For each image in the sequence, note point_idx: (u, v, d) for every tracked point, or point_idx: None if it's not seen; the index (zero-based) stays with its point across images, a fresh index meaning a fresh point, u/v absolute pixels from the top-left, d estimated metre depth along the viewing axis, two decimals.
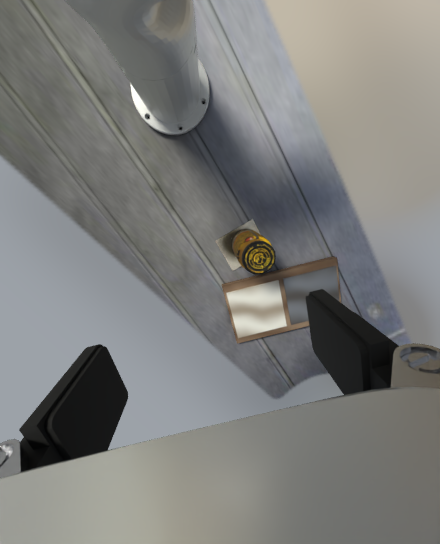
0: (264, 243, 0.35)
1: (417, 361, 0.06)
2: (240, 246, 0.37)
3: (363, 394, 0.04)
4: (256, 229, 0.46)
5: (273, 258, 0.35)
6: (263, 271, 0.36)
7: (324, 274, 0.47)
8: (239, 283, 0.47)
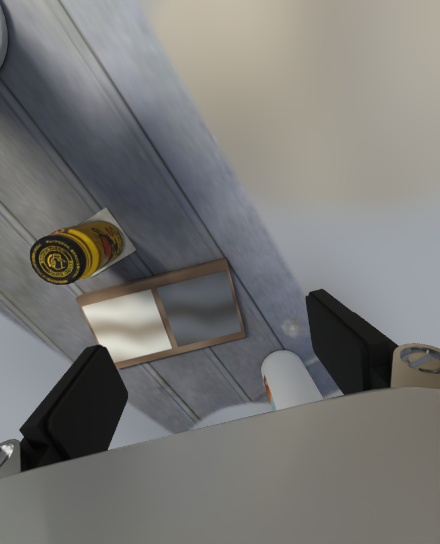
0: (58, 239, 0.23)
1: (417, 361, 0.06)
2: None
3: (363, 394, 0.04)
4: (114, 221, 0.34)
5: (77, 261, 0.24)
6: (67, 281, 0.24)
7: (212, 281, 0.36)
8: (98, 293, 0.36)
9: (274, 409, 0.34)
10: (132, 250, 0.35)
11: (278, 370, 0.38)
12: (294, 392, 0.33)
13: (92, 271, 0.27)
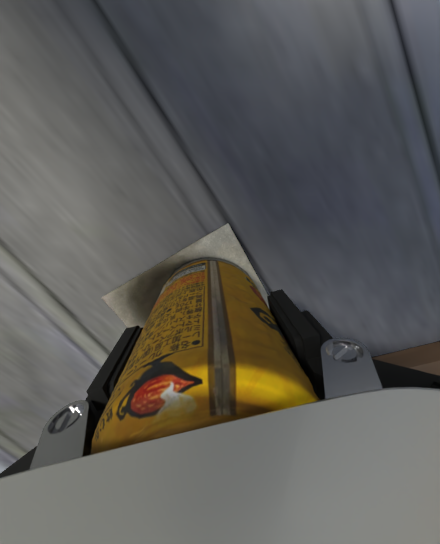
0: None
1: (339, 353, 0.07)
2: (99, 435, 0.05)
3: (363, 394, 0.04)
4: (242, 258, 0.13)
5: None
6: None
7: None
8: None
9: None
10: None
11: None
12: None
13: None
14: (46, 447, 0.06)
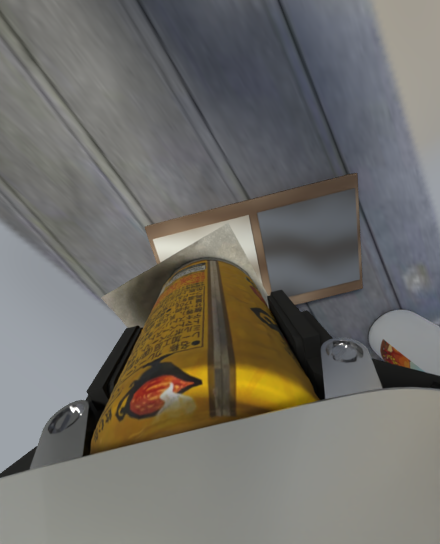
0: None
1: (339, 353, 0.07)
2: (98, 437, 0.05)
3: (363, 394, 0.04)
4: (242, 258, 0.13)
5: None
6: None
7: (333, 205, 0.26)
8: (176, 220, 0.26)
9: None
10: None
11: (411, 331, 0.28)
12: None
13: None
14: (46, 447, 0.06)
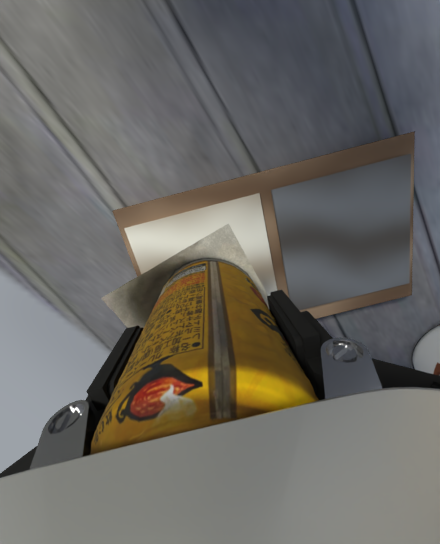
0: None
1: (339, 353, 0.07)
2: (99, 439, 0.05)
3: (363, 394, 0.04)
4: (242, 259, 0.13)
5: None
6: None
7: (379, 178, 0.18)
8: (157, 201, 0.18)
9: None
10: None
11: None
12: None
13: None
14: (46, 447, 0.06)
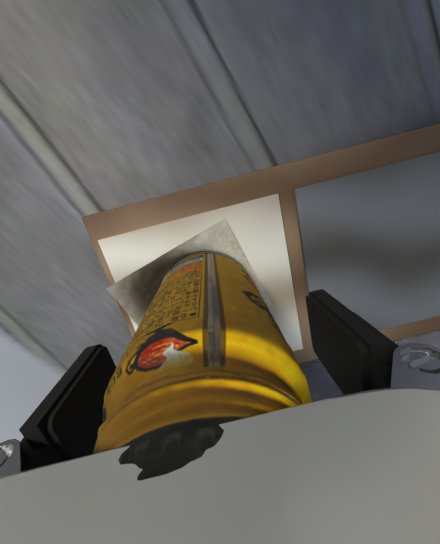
0: None
1: (417, 361, 0.06)
2: (111, 390, 0.06)
3: (363, 394, 0.04)
4: (237, 252, 0.14)
5: None
6: None
7: (438, 174, 0.14)
8: (141, 205, 0.14)
9: None
10: None
11: None
12: None
13: None
14: None
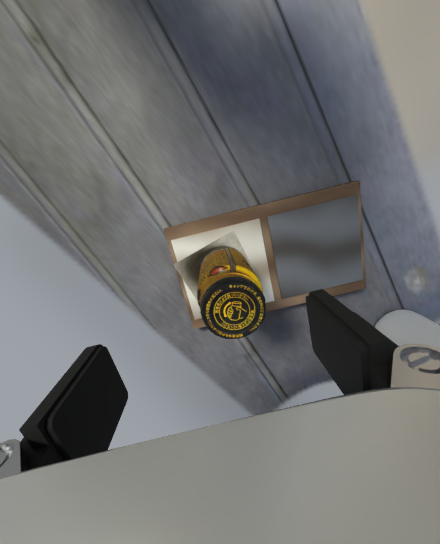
0: (243, 283, 0.17)
1: (417, 361, 0.06)
2: (202, 283, 0.20)
3: (363, 394, 0.04)
4: (239, 247, 0.29)
5: (262, 311, 0.18)
6: (242, 334, 0.19)
7: (337, 209, 0.28)
8: (192, 223, 0.28)
9: None
10: None
11: (412, 329, 0.30)
12: None
13: None
14: None
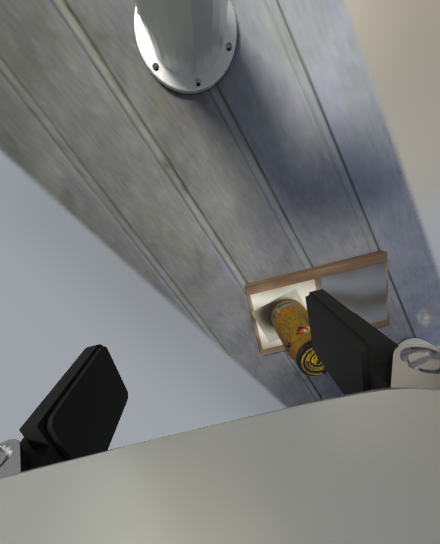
0: None
1: (417, 361, 0.06)
2: (291, 338, 0.31)
3: (363, 394, 0.04)
4: (299, 299, 0.39)
5: None
6: (322, 373, 0.30)
7: (370, 272, 0.39)
8: (266, 283, 0.39)
9: None
10: None
11: None
12: None
13: None
14: None
